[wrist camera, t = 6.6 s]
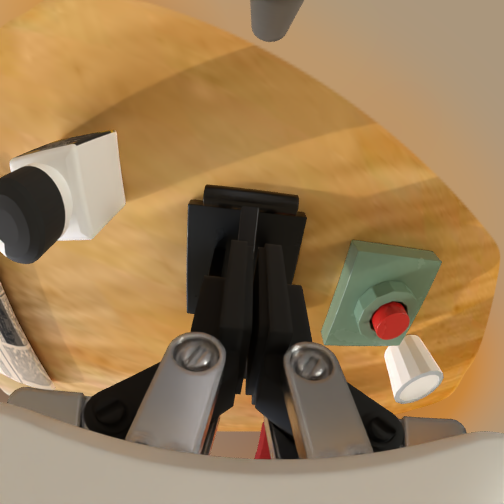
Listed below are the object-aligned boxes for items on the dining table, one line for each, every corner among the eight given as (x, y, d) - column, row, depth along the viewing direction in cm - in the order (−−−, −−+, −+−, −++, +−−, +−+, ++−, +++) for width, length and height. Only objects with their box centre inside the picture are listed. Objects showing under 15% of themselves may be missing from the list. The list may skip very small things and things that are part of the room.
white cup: (431, 329, 34) (452, 367, 27) (414, 362, 37) (429, 399, 31) (389, 333, 34) (407, 375, 27) (373, 367, 37) (386, 407, 31)
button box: (351, 239, 27) (364, 261, 24) (432, 251, 28) (450, 271, 24) (320, 331, 33) (326, 357, 30) (393, 333, 34) (404, 356, 30)
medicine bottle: (117, 128, 22) (28, 163, 12) (127, 205, 26) (60, 279, 15) (55, 140, 22) (-36, 181, 12) (67, 209, 26) (-7, 275, 15)
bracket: (190, 199, 25) (143, 287, 14) (304, 212, 26) (340, 307, 15) (188, 306, 31) (163, 408, 20) (281, 315, 32) (290, 420, 21)
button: (379, 300, 26) (384, 312, 25) (409, 302, 26) (415, 313, 25) (366, 327, 28) (371, 340, 27) (395, 328, 28) (400, 340, 27)
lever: (208, 188, 20) (204, 180, 18) (294, 198, 21) (301, 191, 18) (190, 360, 20) (185, 372, 18) (274, 368, 20) (279, 381, 18)
